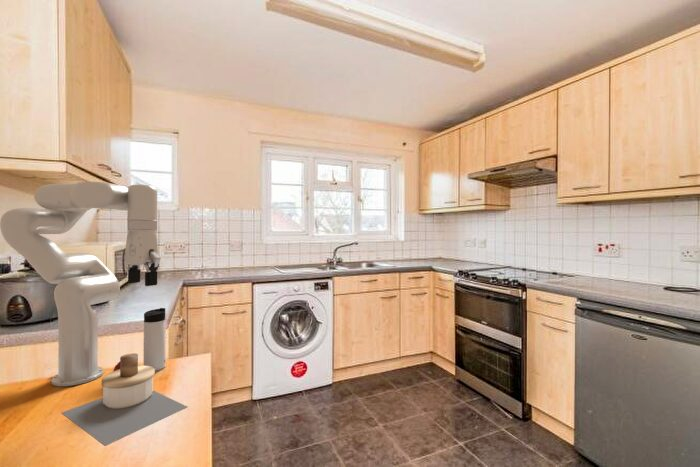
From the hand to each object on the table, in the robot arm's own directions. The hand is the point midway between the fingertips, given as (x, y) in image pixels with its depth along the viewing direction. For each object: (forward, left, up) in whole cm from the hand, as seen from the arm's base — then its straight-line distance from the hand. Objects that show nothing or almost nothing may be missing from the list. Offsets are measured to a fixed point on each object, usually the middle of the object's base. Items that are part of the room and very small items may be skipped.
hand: (142, 284), depth 99 cm
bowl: (+6, -6, -30) cm, 31 cm away
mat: (+12, -10, -30) cm, 34 cm away
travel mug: (-8, +8, -31) cm, 33 cm away
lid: (+6, -6, -24) cm, 26 cm away
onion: (-6, -2, -31) cm, 31 cm away
